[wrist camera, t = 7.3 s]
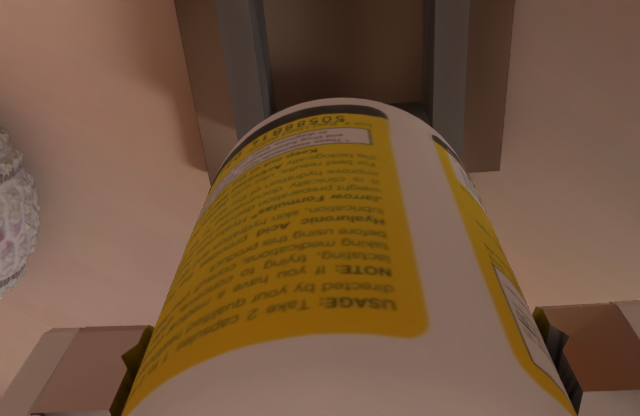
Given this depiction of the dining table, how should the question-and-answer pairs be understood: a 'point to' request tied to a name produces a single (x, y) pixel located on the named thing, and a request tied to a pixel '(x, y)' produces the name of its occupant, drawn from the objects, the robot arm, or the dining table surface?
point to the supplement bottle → (345, 283)
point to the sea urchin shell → (15, 214)
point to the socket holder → (350, 65)
